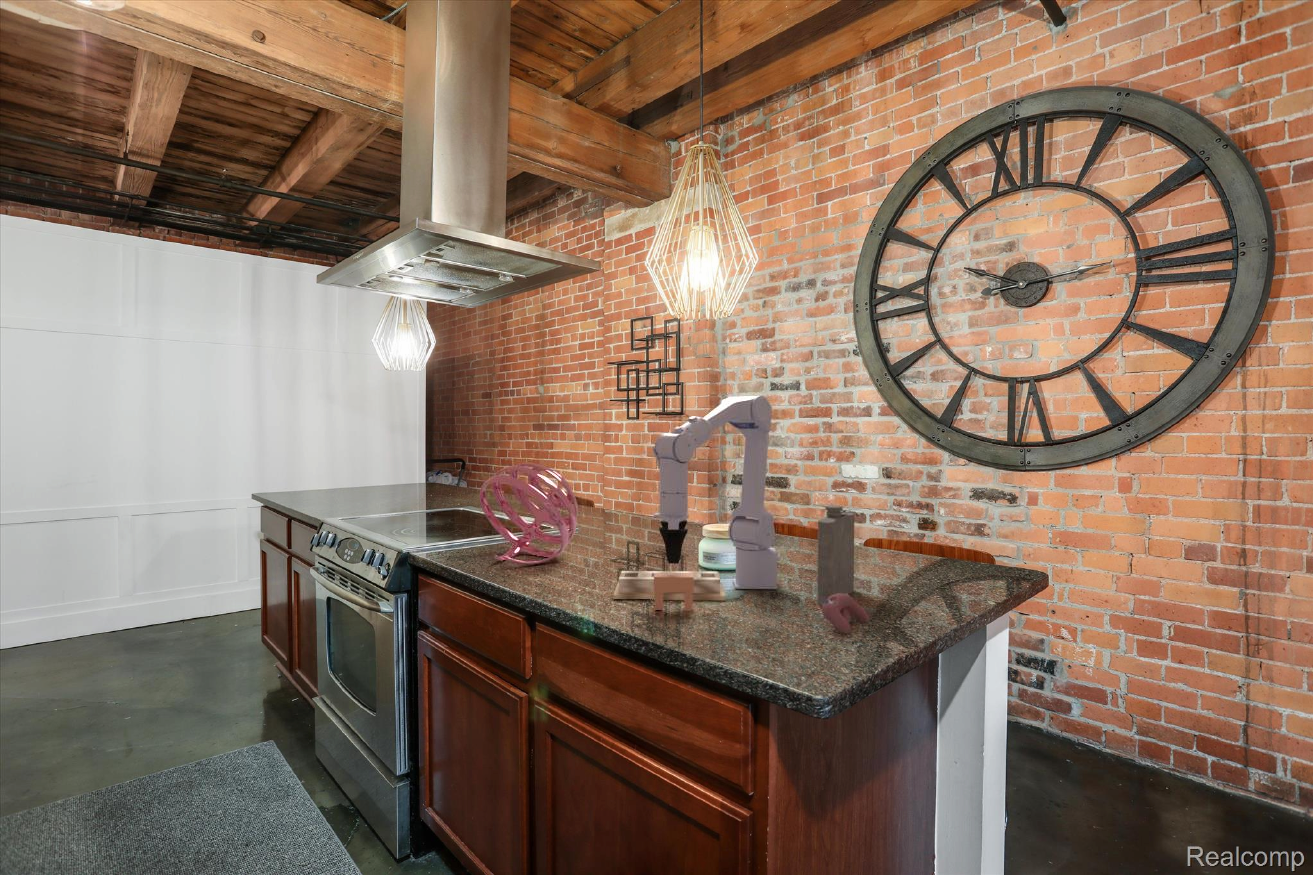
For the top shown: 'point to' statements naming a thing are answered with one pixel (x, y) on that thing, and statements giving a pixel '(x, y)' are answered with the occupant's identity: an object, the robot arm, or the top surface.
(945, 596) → the top surface
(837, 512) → the hip flask
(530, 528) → the spiral basket
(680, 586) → the clip
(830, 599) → the video game controller
